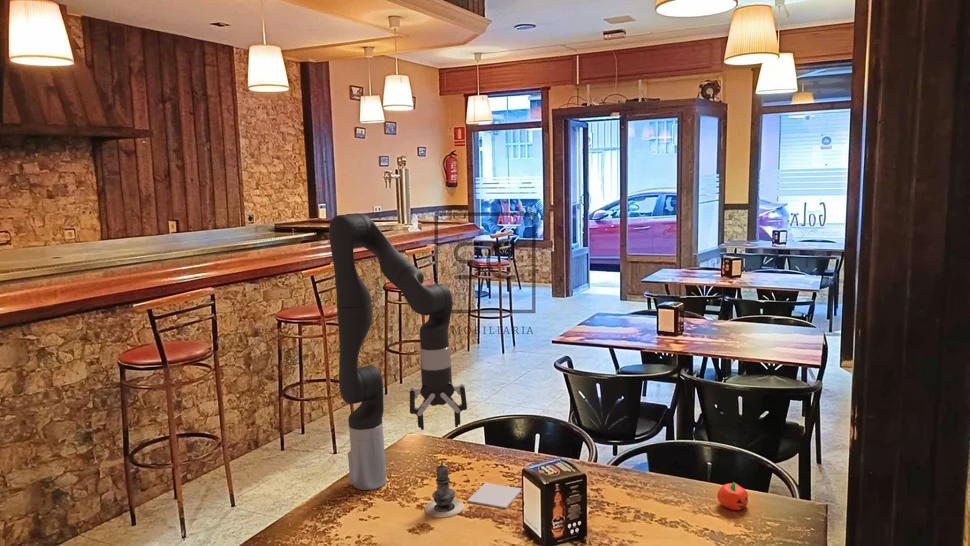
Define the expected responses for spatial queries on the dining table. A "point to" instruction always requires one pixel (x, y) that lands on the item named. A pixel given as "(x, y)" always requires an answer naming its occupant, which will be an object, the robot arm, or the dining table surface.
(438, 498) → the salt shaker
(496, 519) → the dining table surface
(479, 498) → the mat
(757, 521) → the dining table surface
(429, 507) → the coaster
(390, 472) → the dining table surface
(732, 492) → the halloween pumpkin figurine
